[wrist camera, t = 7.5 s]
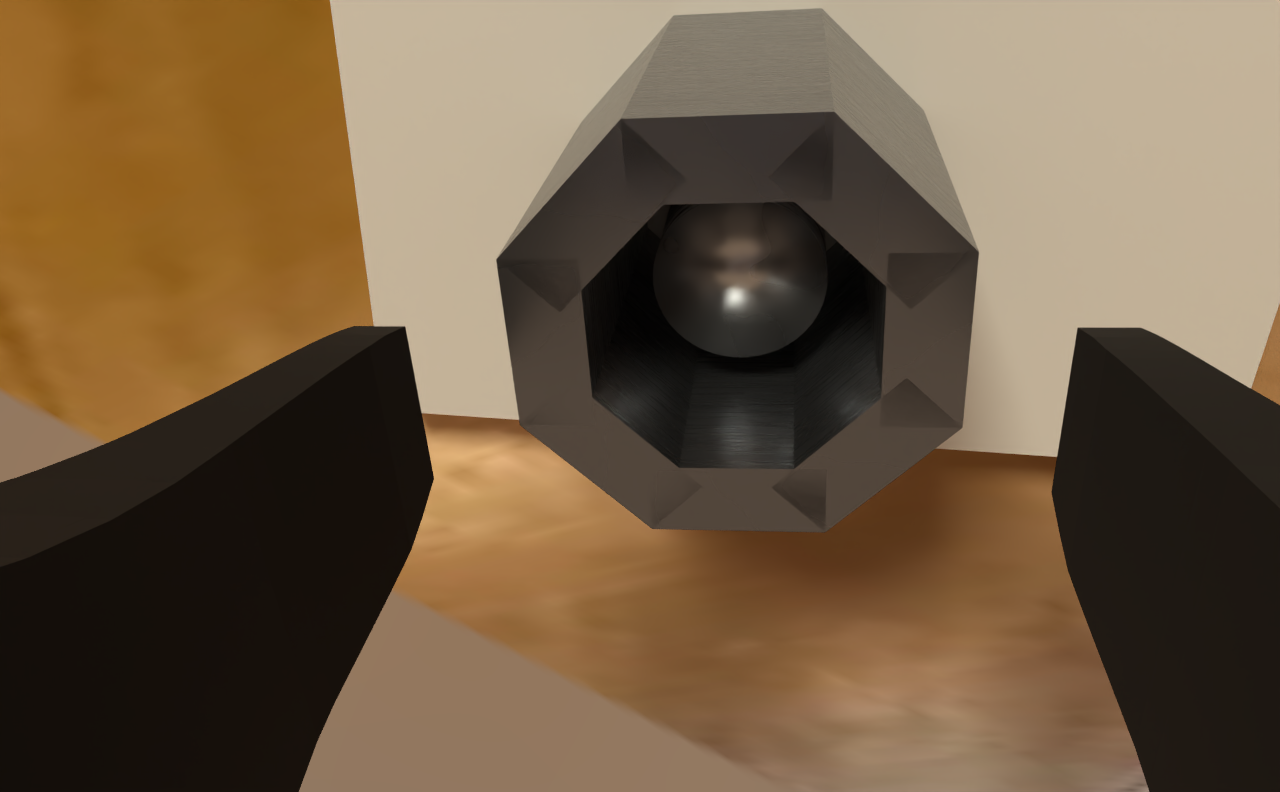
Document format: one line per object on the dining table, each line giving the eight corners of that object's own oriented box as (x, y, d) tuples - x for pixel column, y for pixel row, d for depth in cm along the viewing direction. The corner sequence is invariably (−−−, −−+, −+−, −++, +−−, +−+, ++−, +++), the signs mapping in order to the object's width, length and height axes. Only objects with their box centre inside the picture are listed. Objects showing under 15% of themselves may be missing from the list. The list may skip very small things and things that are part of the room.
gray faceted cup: (930, 2, 16) (993, 106, 11) (909, 331, 19) (951, 535, 14) (572, 19, 17) (476, 124, 12) (601, 333, 20) (534, 526, 15)
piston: (827, 117, 17) (835, 201, 14) (814, 254, 19) (819, 362, 15) (681, 111, 18) (653, 192, 14) (677, 247, 19) (651, 352, 15)
